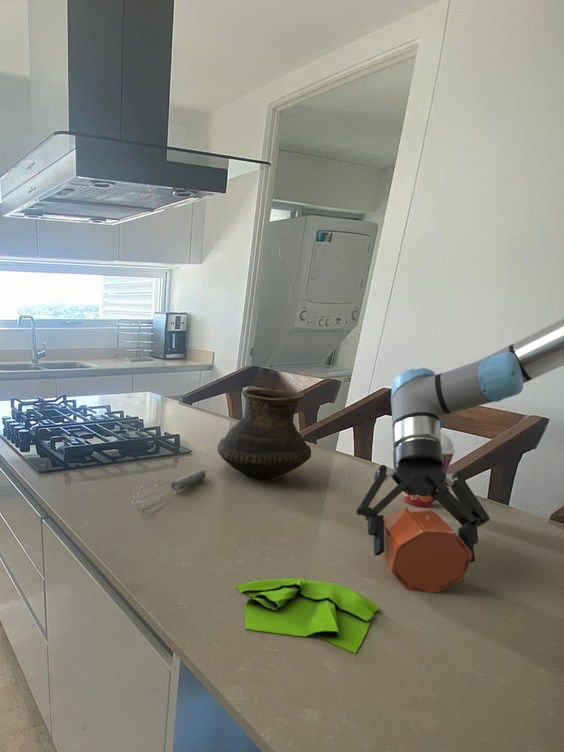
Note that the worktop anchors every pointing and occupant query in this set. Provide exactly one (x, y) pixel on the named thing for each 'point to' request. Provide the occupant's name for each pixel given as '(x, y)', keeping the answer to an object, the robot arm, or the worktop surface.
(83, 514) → the worktop surface
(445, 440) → the smoothie
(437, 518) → the cup
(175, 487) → the kitchen whisk
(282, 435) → the ceramic pot
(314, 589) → the cloth
